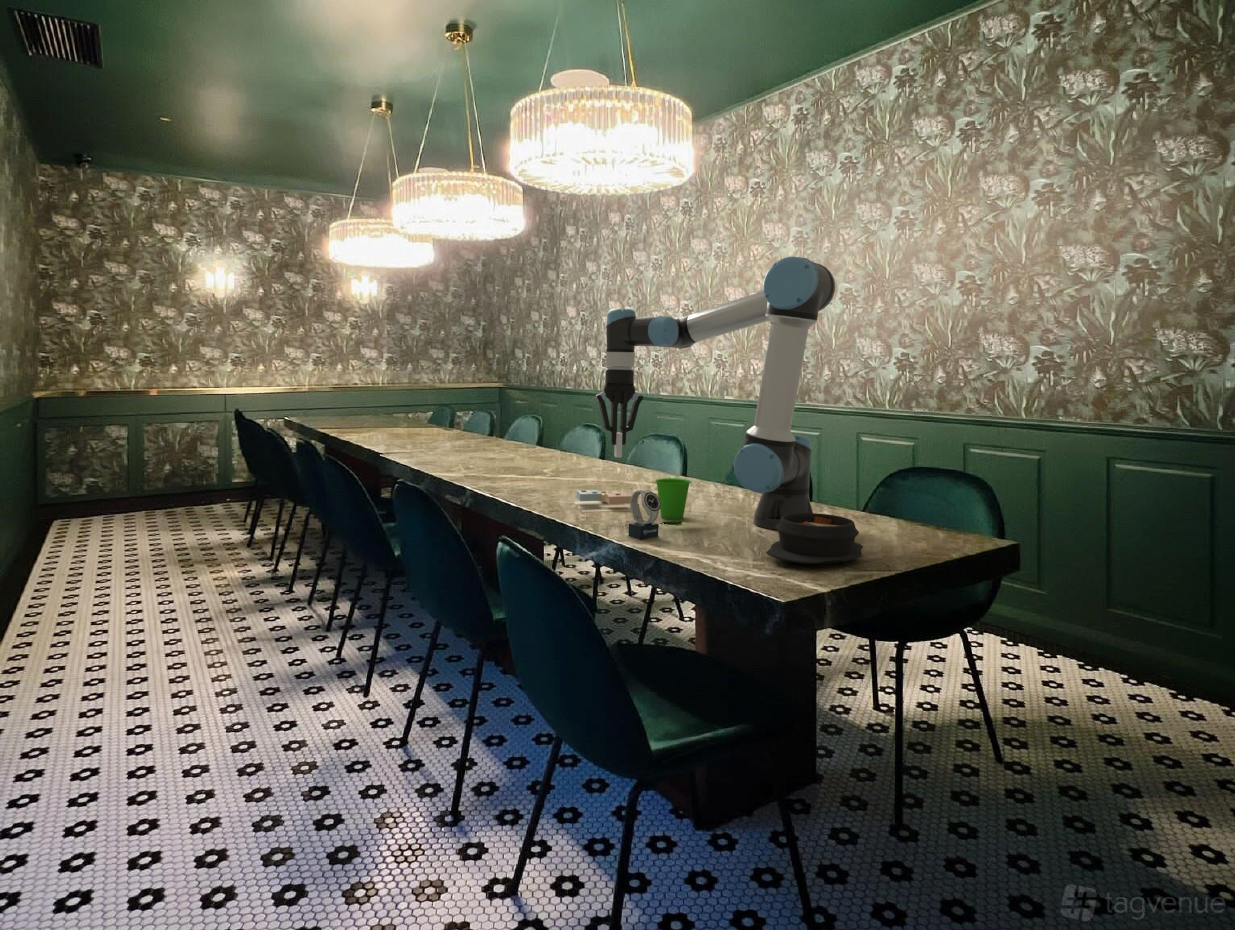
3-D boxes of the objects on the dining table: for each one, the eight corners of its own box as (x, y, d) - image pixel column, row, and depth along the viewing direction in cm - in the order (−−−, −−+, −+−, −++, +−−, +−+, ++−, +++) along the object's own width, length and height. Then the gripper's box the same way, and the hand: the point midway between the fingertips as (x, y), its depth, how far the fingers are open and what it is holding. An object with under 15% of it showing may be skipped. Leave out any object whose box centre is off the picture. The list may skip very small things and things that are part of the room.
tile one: (631, 503, 202) (631, 495, 201) (609, 504, 200) (609, 495, 200) (626, 499, 207) (626, 491, 207) (604, 500, 206) (604, 492, 206)
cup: (687, 527, 187) (689, 484, 185) (651, 525, 189) (652, 482, 187) (691, 520, 196) (692, 479, 194) (657, 518, 197) (658, 477, 196)
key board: (637, 515, 201) (637, 510, 201) (582, 517, 198) (582, 511, 197) (622, 503, 219) (622, 498, 219) (571, 504, 216) (571, 499, 216)
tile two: (601, 500, 205) (601, 492, 205) (580, 501, 204) (580, 493, 203) (597, 497, 211) (597, 489, 211) (576, 497, 210) (576, 489, 209)
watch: (646, 541, 171) (647, 493, 170) (623, 534, 178) (624, 489, 176) (664, 538, 175) (665, 491, 173) (641, 532, 181) (642, 486, 180)
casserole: (806, 541, 174) (808, 506, 173) (883, 556, 161) (886, 518, 160) (744, 560, 156) (746, 520, 155) (826, 578, 143) (828, 535, 142)
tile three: (622, 501, 211) (622, 494, 211) (601, 502, 210) (601, 494, 210) (618, 498, 217) (618, 490, 217) (597, 498, 216) (597, 491, 216)
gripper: (640, 369, 204) (638, 455, 207) (593, 368, 202) (591, 455, 205) (647, 369, 197) (644, 458, 200) (598, 368, 194) (596, 458, 197)
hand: (618, 456), depth 202 cm, fingers closed
